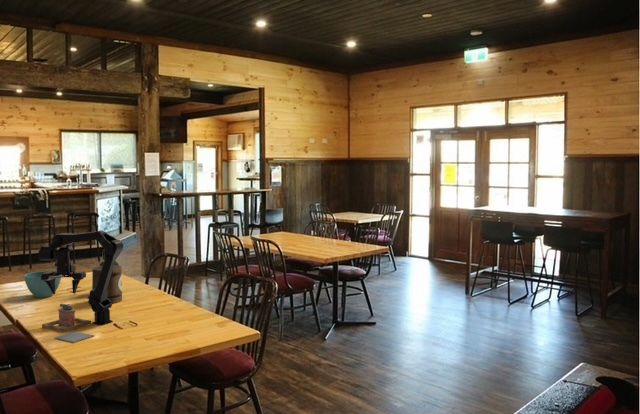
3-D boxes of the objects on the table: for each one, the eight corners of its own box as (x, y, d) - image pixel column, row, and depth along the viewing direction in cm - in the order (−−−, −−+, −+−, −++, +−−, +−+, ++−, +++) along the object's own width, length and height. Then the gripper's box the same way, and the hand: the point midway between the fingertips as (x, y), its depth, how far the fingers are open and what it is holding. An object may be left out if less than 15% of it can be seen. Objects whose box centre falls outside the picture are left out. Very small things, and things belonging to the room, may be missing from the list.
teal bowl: (51, 300, 292) (50, 277, 291) (17, 299, 292) (17, 277, 291) (67, 292, 310) (67, 271, 309) (36, 292, 311) (35, 270, 310)
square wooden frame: (91, 324, 250) (91, 320, 249) (64, 332, 237) (64, 329, 237) (69, 319, 256) (69, 316, 256) (42, 327, 243) (41, 324, 243)
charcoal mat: (94, 336, 232) (94, 335, 232) (74, 343, 223) (74, 341, 223) (74, 332, 237) (74, 331, 237) (54, 338, 228) (54, 337, 228)
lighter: (77, 325, 247) (76, 303, 246) (71, 327, 244) (71, 305, 243) (62, 324, 249) (61, 302, 248) (56, 326, 246) (56, 304, 245)
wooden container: (127, 301, 292) (126, 260, 291) (100, 306, 281) (99, 263, 280) (113, 296, 302) (113, 257, 301) (87, 301, 291) (86, 260, 290)
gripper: (90, 257, 259) (91, 289, 261) (50, 257, 259) (52, 290, 260) (80, 261, 248) (81, 295, 249) (39, 262, 248) (40, 295, 249)
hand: (64, 293), depth 252 cm, fingers open, 9 cm apart
